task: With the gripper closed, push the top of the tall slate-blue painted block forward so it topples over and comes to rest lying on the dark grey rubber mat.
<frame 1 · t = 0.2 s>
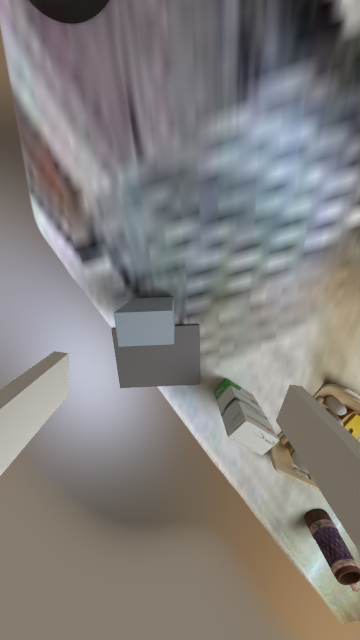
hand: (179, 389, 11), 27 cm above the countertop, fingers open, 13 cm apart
ink box: (233, 393, 44), on the countertop
toy food set: (321, 428, 48), on the countertop
mat: (158, 356, 41), on the countertop
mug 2: (316, 518, 57), on the countertop
block: (154, 309, 38), on the countertop
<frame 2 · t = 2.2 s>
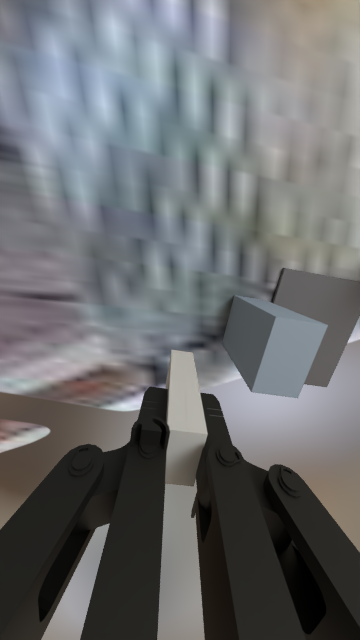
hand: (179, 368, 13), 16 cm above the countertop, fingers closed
mat: (305, 332, 30), on the countertop
block: (243, 322, 29), on the countertop
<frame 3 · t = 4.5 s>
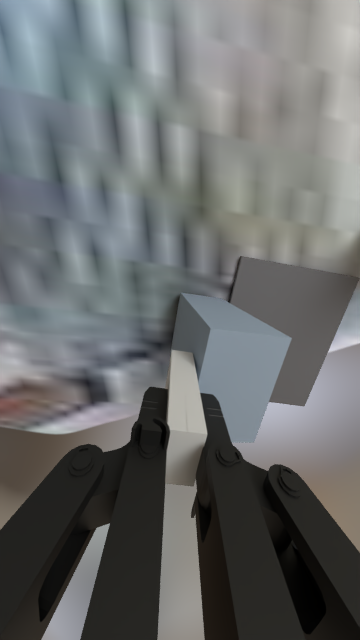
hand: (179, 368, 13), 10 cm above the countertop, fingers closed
mat: (275, 339, 24), on the countertop
block: (194, 327, 23), on the countertop, tilted 6°, touching gripper
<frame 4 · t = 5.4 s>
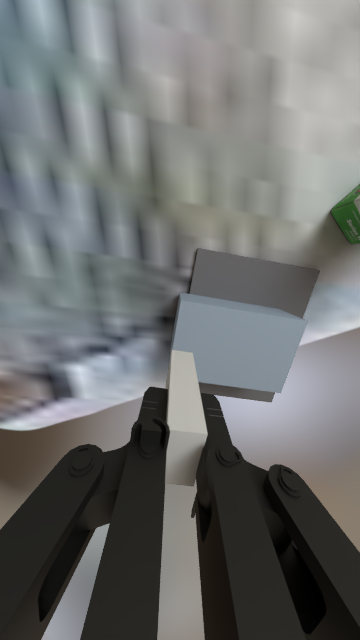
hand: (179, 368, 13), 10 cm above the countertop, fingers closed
mat: (238, 333, 23), on the countertop
block: (173, 332, 20), point 3 cm above the countertop, tilted 90°, touching mat
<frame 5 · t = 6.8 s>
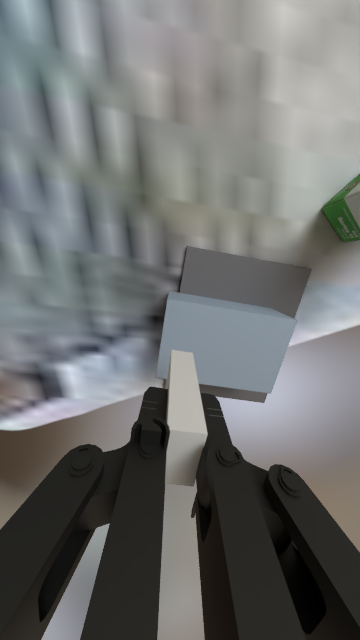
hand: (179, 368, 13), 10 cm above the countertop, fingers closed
mat: (229, 333, 23), on the countertop
block: (162, 331, 20), point 3 cm above the countertop, tilted 90°, touching mat
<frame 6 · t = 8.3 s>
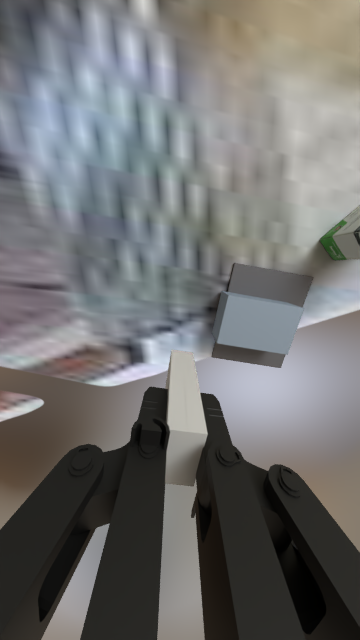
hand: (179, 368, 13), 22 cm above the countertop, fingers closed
ink box: (347, 232, 31), on the countertop
mat: (258, 319, 35), on the countertop
block: (219, 316, 32), point 3 cm above the countertop, tilted 90°, touching mat
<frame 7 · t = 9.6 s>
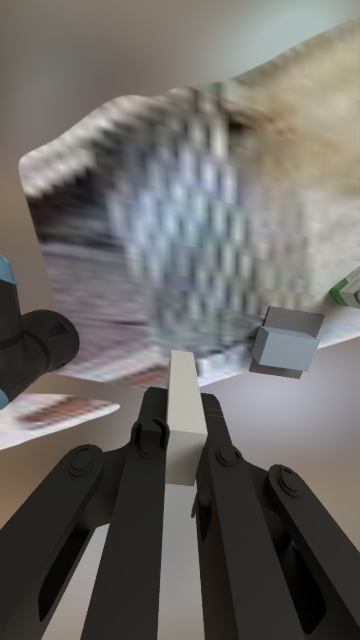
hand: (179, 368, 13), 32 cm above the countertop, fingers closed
ink box: (348, 285, 45), on the countertop
mat: (284, 344, 48), on the countertop
block: (259, 344, 45), point 3 cm above the countertop, tilted 90°, touching mat
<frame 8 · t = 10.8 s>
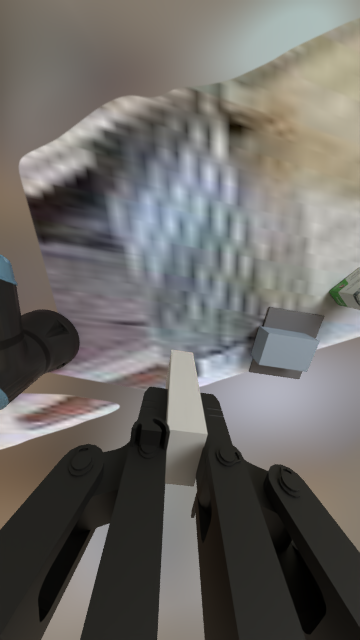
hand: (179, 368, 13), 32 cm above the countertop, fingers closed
ink box: (348, 286, 45), on the countertop
mat: (284, 344, 48), on the countertop
block: (259, 344, 45), point 3 cm above the countertop, tilted 90°, touching mat
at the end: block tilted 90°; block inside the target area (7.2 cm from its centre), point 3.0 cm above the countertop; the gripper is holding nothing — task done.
